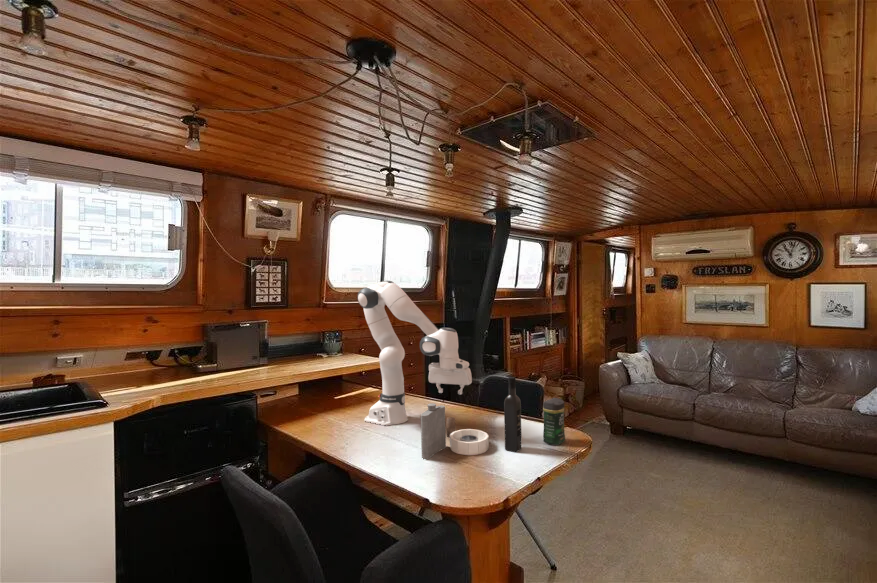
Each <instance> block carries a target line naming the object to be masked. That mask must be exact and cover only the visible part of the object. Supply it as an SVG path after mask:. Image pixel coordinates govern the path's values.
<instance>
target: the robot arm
mask: <svg viewBox="0 0 877 583" xmlns="http://www.w3.org/2000/svg"><path fill="white" fill-rule="evenodd" d="M357 302H358V304H359V306H361V308H363V313H364V317H365V318H364V319H365V321H366V324H367V326H368V329H369V331H370V334H371V336H372V338H373V340H374V342H376V344H377V345H378V347H379V349H380V353H379V354H378V355H379V356H378V361H379V367H380V368H379V369H380V374H381V380H382V381H381V382H382V383H381V384H382V386H381V387H382V389H381V390H382V392H381V393H379V395H377V398H379V400H378V401H377V402H376V403H374V404H373V405H371V407H370V408H369V410H368V414H367V415H366V416H365V417H364V420H363V421H364V422H365V421H366V422H365V423H370V422H371V424H375V423H376V425H379V424H381V425H380V426H384V425H386V426H392V425H398V424H402V423H403V424H404V423H405V422H407V421H408V420H409V418H408V415H407V410H406V394H405V393H406V392H405V383H404V382H405V381H404V380H405V377H404V374H403V366H402V363H403V360H404V359H405V356H406V352H405V349H404V347H403V345H402V342H401V341H400V339H399V338H398V335H397V334H396V333H395V330H394V328H393V326H392V323H391V321H390V319H389V316H388V314H387V312H386V310H385V306H387V308H388V309H389V311H390V312H391V313H392V315H393V316H394V317H395V318H396V319H398V320H399V321H403V322H409V323H411V324H415V325H416V326H417V327H418V328H419V329H420V330H421V331H422V332H423V334H425V336H423V337H422V338H421V340H420V341H419V350H420V352H421V353H422V354H423V355H424V356H427V357H428V356H429V357H432V356H436V355H438V356H439V362H431V363H429V364H428V371H429V372H428V382H429V383H431V384H435V385H436V387H437V390H438V393H439V394H442V393H443V392H444V388H442V387H441V384H444V385H456V386H457V385H459V387H460V389H458V390H457V394H458V395H463V389H464V388H465V386H469V385H471V384H472V382H473V377H472V371H471V368H470V367H469V366H470V363H469V361H466V360H464V359H461V358H460V356H459V336H458V333H457V330H456V329H454V328H452V327H440V328H438V327H437V326H436V325H435V324H434V322H433V321H432V320H431V319H430V318H429V317H428V316H427V315H426V314H425V313H424V312H423V311H422V310H421V309H420V308H419V307H418V306H417V305H416V303H414V302H413V300H412V299H411V298H410V297H409V295H408V294H407V293H406V292H405V291H404V290H403V289H402V288H401V287H400V286H399V285H398V284H396V283H394V282H393V281H391V280H384V281H383V280H382V281H381V282H380V281H379V282H376V283H373V284H371V285H369V286H366V287H363V288H362V289H360V290H359V291H358V292H357Z"/></svg>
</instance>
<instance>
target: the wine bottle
mask: <svg viewBox="0 0 877 583" xmlns="http://www.w3.org/2000/svg"><path fill="white" fill-rule="evenodd" d="M516 378H517V377H514V376H509V377H508V378H507V379H508V380H507V382H508V394H507V396H506V397H505V399H504V402H503V412H504V413H503V416H504V417H503V418H504V421H503V423H504V450H505V451H509V452H513V453H517V452H519V451H520V450H521V449H522V406H521V405H522V404H521V399H520V397H519V396H518V395H517V394H516V383H517V382H516Z"/></svg>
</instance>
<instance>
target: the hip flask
mask: <svg viewBox="0 0 877 583" xmlns="http://www.w3.org/2000/svg"><path fill="white" fill-rule="evenodd" d="M426 407H427V410H426V411H423V412H422V413H421V414H420V442H421V448H420V449H421V459H422V458H423V459H422V460H424V459H427V460H429V459H430V458H432V456H434V455H435V454H437V453H438V452H440V451H442V450H444V449H446V448H447V429H446V406H445V405H442V404H441V405H437V404H436V403H428V404H427V406H426ZM441 449H442V450H441ZM439 450H440V451H439ZM436 452H437V453H436ZM433 454H434V455H433Z"/></svg>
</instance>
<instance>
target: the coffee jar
mask: <svg viewBox="0 0 877 583" xmlns="http://www.w3.org/2000/svg"><path fill="white" fill-rule="evenodd" d="M542 410H543V437H542V440H543V442H544V443H545V444H547V445H554V446H559V445H561V444H563V443H564V442H565V441H566V432H565V401H564V400H563V399H562V398H558V397H553V398H550V399H547V400H545V401H543V405H542Z"/></svg>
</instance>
